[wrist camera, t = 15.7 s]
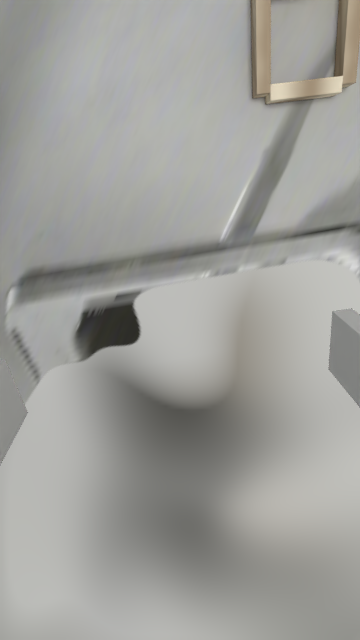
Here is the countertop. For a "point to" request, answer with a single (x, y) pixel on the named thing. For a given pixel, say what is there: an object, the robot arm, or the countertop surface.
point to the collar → (353, 26)
